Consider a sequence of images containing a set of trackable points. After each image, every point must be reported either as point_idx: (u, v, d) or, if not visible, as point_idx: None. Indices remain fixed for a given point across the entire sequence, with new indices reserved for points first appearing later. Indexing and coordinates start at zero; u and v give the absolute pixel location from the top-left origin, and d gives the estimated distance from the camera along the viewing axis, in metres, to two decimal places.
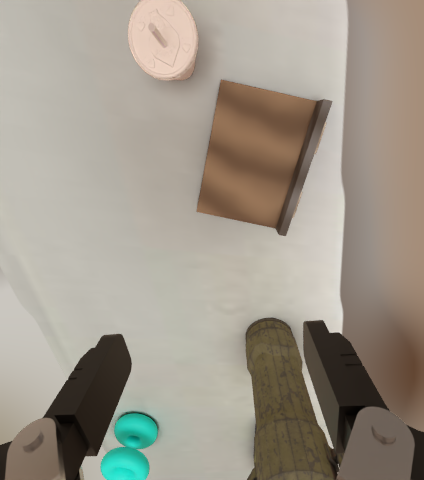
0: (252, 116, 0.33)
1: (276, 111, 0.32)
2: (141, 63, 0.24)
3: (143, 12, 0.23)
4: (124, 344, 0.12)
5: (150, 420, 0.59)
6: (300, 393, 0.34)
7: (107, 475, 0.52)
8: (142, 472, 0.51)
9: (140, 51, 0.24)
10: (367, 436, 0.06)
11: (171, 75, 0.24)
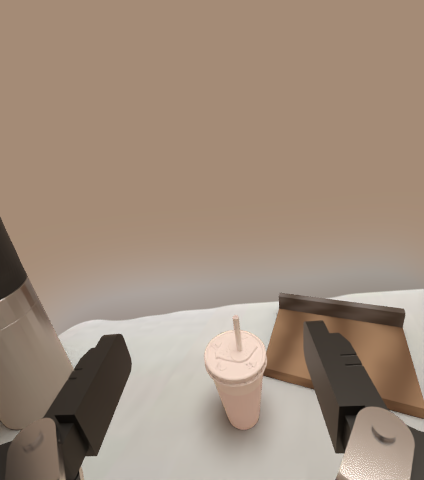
0: (292, 345, 0.36)
1: (287, 329, 0.39)
2: (252, 371, 0.24)
3: (213, 365, 0.25)
4: (124, 344, 0.12)
5: None
6: None
7: None
8: None
9: (242, 371, 0.24)
10: (367, 436, 0.06)
11: (264, 349, 0.26)
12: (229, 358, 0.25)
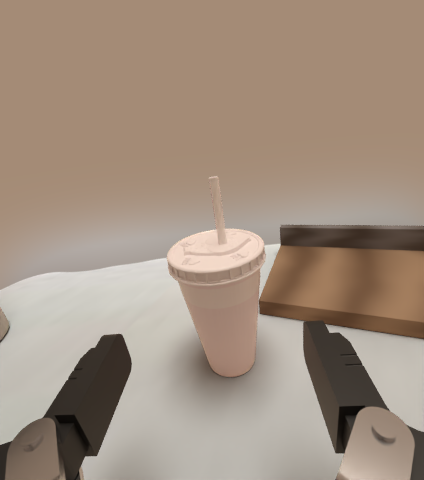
0: (300, 276, 0.26)
1: (291, 263, 0.29)
2: (241, 261, 0.14)
3: (180, 262, 0.16)
4: (124, 344, 0.12)
5: None
6: None
7: None
8: None
9: (224, 262, 0.15)
10: (367, 436, 0.06)
11: (260, 241, 0.17)
12: (205, 251, 0.16)
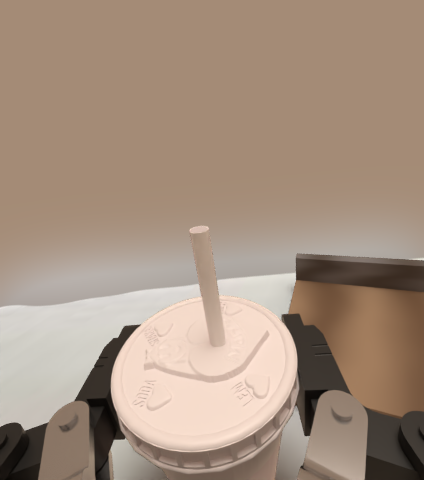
0: (328, 337, 0.19)
1: (314, 311, 0.22)
2: (255, 415, 0.07)
3: (135, 388, 0.08)
4: None
5: None
6: None
7: None
8: None
9: (220, 412, 0.07)
10: (328, 418, 0.07)
11: (288, 340, 0.09)
12: (184, 367, 0.08)
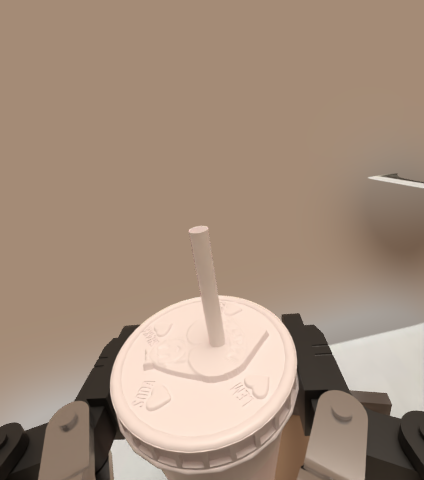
0: None
1: None
2: (254, 416, 0.07)
3: (134, 388, 0.08)
4: None
5: None
6: None
7: None
8: None
9: (219, 413, 0.07)
10: (328, 418, 0.07)
11: (288, 340, 0.09)
12: (183, 367, 0.08)
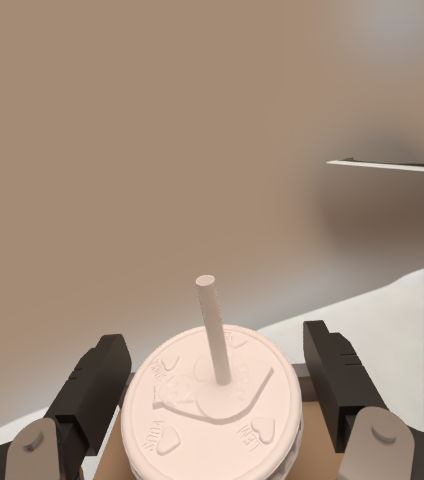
0: None
1: None
2: (261, 464, 0.07)
3: (144, 428, 0.08)
4: (124, 344, 0.12)
5: None
6: None
7: None
8: None
9: (227, 459, 0.07)
10: (367, 436, 0.06)
11: (293, 377, 0.09)
12: (191, 408, 0.09)
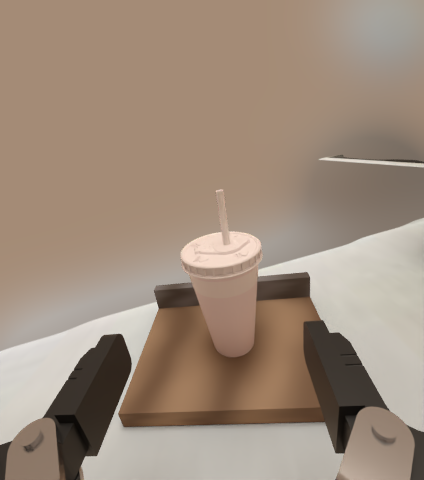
0: (172, 358, 0.23)
1: (166, 336, 0.26)
2: (241, 259, 0.18)
3: (191, 260, 0.19)
4: (124, 344, 0.12)
5: None
6: None
7: None
8: None
9: (228, 260, 0.18)
10: (367, 436, 0.06)
11: (258, 242, 0.20)
12: (212, 251, 0.19)
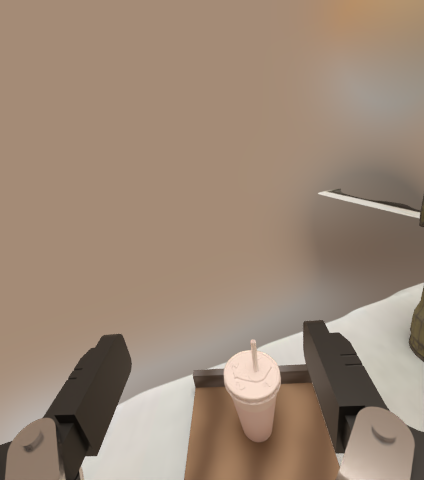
0: (213, 441, 0.32)
1: (206, 418, 0.34)
2: (268, 391, 0.27)
3: (232, 384, 0.28)
4: (124, 344, 0.12)
5: None
6: None
7: None
8: None
9: (259, 390, 0.27)
10: (367, 436, 0.06)
11: (277, 369, 0.29)
12: (247, 378, 0.28)
